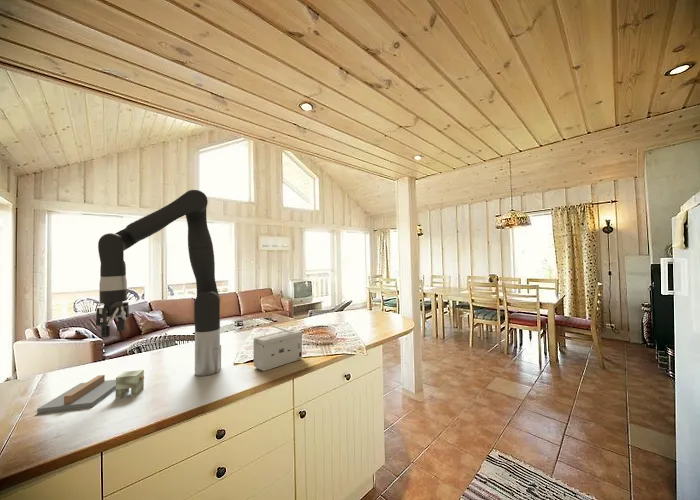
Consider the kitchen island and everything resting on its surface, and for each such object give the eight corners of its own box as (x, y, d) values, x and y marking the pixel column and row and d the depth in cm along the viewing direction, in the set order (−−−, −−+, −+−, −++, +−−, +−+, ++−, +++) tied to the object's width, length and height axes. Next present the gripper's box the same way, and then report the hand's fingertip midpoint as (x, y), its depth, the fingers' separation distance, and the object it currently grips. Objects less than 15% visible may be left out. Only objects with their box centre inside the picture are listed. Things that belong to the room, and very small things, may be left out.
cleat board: (124, 382, 104) (124, 372, 104) (91, 407, 86) (92, 394, 86) (80, 387, 100) (80, 376, 100) (37, 413, 83) (37, 400, 83)
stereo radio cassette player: (294, 355, 131) (294, 313, 131) (304, 359, 125) (304, 315, 126) (252, 368, 116) (252, 320, 117) (261, 373, 110) (261, 323, 111)
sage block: (146, 389, 98) (147, 369, 98) (139, 396, 93) (139, 375, 93) (124, 391, 96) (124, 371, 96) (115, 398, 91) (115, 377, 92)
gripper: (112, 290, 93) (113, 338, 92) (136, 286, 107) (136, 328, 106) (86, 291, 91) (87, 340, 91) (113, 287, 105) (114, 329, 105)
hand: (113, 333), depth 98 cm, fingers open, 8 cm apart
